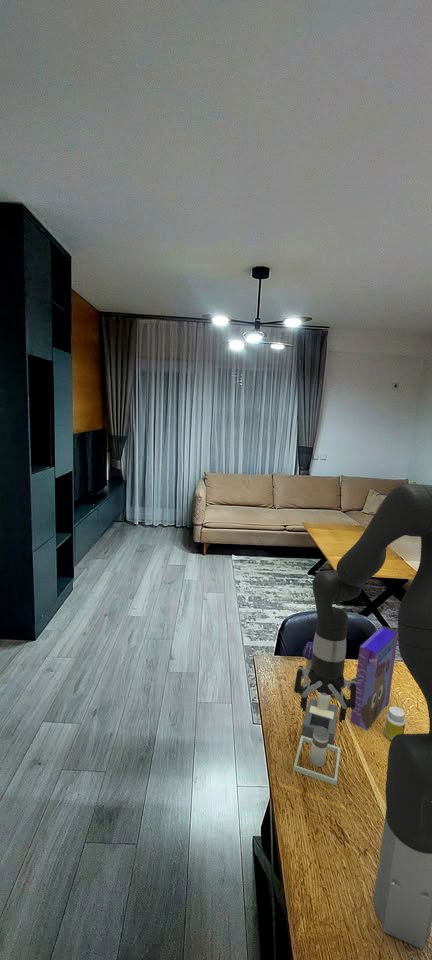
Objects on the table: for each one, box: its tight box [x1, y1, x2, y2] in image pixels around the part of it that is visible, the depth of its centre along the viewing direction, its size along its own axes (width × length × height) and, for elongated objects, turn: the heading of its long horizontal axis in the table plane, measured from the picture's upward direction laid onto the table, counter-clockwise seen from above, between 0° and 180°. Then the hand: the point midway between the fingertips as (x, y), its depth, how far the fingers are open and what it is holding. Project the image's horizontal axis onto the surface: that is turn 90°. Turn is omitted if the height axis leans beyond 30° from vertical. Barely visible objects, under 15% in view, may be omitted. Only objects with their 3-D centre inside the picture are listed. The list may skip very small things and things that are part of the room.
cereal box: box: [350, 625, 398, 731], centre depth 122 cm, size 17×5×24 cm, turn 139°
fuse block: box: [301, 691, 339, 746], centre depth 116 cm, size 12×8×10 cm, turn 159°
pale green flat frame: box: [292, 734, 342, 786], centre depth 104 cm, size 11×10×2 cm
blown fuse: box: [309, 726, 329, 768], centre depth 103 cm, size 4×4×8 cm
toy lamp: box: [301, 641, 314, 687], centre depth 130 cm, size 5×5×17 cm
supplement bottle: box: [383, 706, 406, 742], centre depth 114 cm, size 5×5×8 cm
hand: (322, 714), depth 102 cm, fingers open, 8 cm apart
